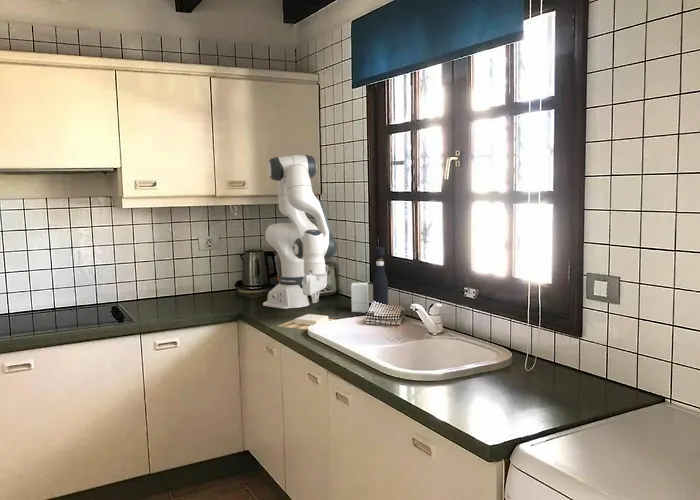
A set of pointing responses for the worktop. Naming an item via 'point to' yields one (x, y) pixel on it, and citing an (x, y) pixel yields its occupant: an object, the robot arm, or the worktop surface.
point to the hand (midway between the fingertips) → (315, 302)
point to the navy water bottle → (380, 279)
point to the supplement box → (359, 297)
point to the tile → (311, 319)
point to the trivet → (296, 325)
